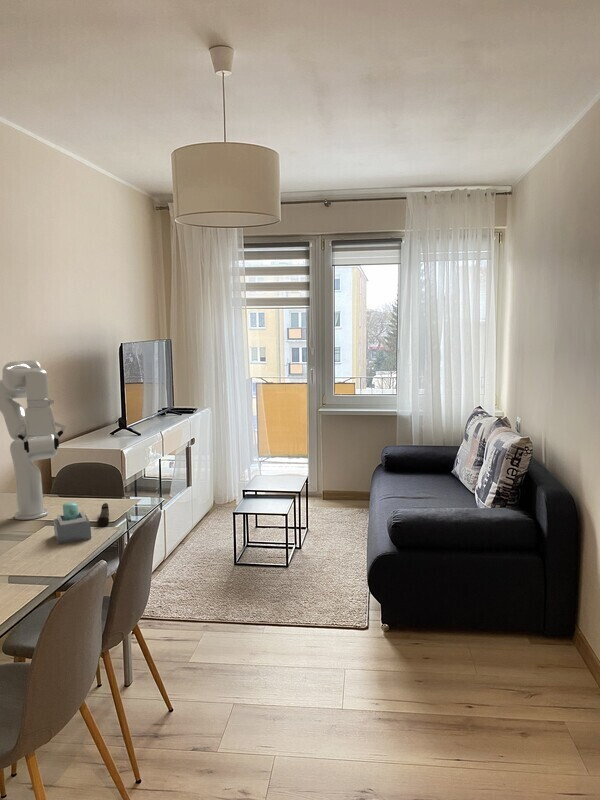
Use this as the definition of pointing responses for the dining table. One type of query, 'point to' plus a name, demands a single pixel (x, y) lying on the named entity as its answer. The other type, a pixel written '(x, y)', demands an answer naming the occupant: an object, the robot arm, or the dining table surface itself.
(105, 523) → the hand tool
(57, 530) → the grey plastic box
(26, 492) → the robot arm
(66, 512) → the teal toy block
